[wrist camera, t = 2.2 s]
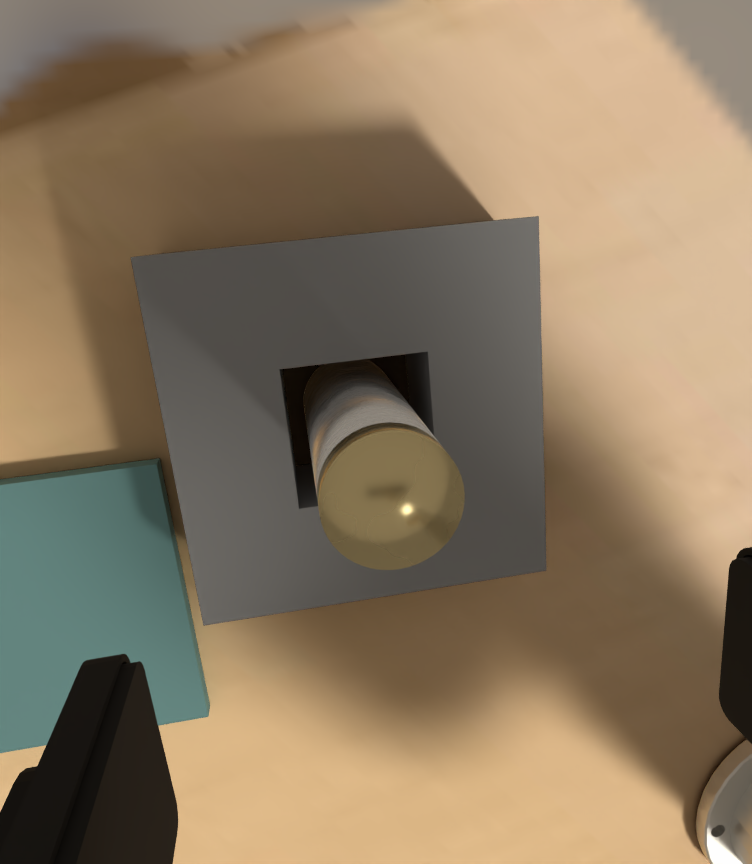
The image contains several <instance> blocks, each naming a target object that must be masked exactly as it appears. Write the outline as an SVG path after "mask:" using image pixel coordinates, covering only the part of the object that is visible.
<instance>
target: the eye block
mask: <svg viewBox="0 0 752 864" xmlns="http://www.w3.org/2000/svg"><path fill="white" fill-rule="evenodd" d="M131 262H132V267H133V272H134V277H135V282H136V287H137V292H138V297H139V302H140V308H141V313H142V318H143V323H144V328H145V333H146V338H147V343H148V348H149V353H150V358H151V363H152V368H153V373H154V378H155V383H156V388H157V393H158V398H159V403H160V408H161V413H162V418H163V423H164V429H165V434H166V439H167V444H168V449H169V454H170V459H171V464H172V469H173V474H174V479H175V484H176V489H177V494H178V499H179V504H180V509H181V514H182V519H183V524H184V529H185V534H186V539H187V545H188V550H189V555H190V560H191V565H192V570H193V575H194V580H195V585H196V590H197V595H198V600H199V605H200V610H201V615H202V620H203V625H210V624H217V623H223V622H229V621H235V620H241V619H248V618H254V617H260V616H266V615H273V614H279V613H285V612H291V611H298V610H304V609H310V608H316V607H323V606H329V605H335V604H341V603H348V602H354V601H360V600H366V599H372V598H379V597H385V596H391V595H397V594H404V593H410V592H416V591H422V590H429V589H435V588H441V587H447V586H454V585H460V584H466V583H472V582H479V581H485V580H491V579H497V578H503V577H510V576H516V575H522V574H528V573H535V572H541V571H546V528H545V482H544V437H543V391H542V346H541V301H540V255H539V216H536V217H525V218H514V219H503V220H492V221H482V222H472V223H462V224H452V225H442V226H432V227H422V228H412V229H403V230H393V231H383V232H373V233H363V234H353V235H343V236H333V237H323V238H313V239H303V240H293V241H283V242H273V243H263V244H253V245H243V246H233V247H223V248H213V249H203V250H193V251H183V252H173V253H163V254H154V255H146V256H137V257H131ZM403 354H405V358H406V370H407V382H408V394H409V405H410V406H411V407H412V409H413V410H414V411H415V412H416V414H417V415H418V416H419V418H420V419H421V420H422V421H423V423H424V424H425V425H426V426H427V428H428V429H429V430H430V432H431V433H432V434H433V435H434V437H435V438H436V439H437V440H438V442H439V443H440V444H441V446H442V447H443V448H444V449H445V451H446V452H447V453H448V454H449V456H450V457H451V458H452V460H453V461H454V463H455V464H456V466H457V467H458V470H459V472H460V474H461V477H462V481H463V484H464V492H465V502H464V509H463V513H462V517H461V520H460V522H459V525H458V527H457V529H456V531H455V532H454V534H453V536H452V537H451V538H450V540H449V541H448V542H447V543H446V544H445V545H444V546H443V547H442V548H441V549H440V550H439V551H438V552H437V553H436V554H434V555H433V556H431V557H430V558H428V559H427V560H425V561H423V562H421V563H419V564H416V565H413V566H410V567H407V568H402V569H396V570H378V569H371V568H368V567H364V566H361V565H359V564H357V563H354V562H353V561H351V560H349V559H347V558H346V557H345V556H343V555H342V554H341V553H340V552H339V551H338V550H337V549H336V548H335V547H334V546H333V545H332V543H331V542H330V541H329V539H328V538H327V536H326V534H325V532H324V529H323V527H322V524H321V520H320V515H319V508H318V501H317V494H316V487H315V481H314V474H313V467H312V464H306V465H299V466H296V463H295V456H294V449H293V441H292V434H291V427H290V420H289V413H288V406H287V398H286V391H285V384H284V377H283V370H282V369H287V368H295V367H304V366H312V365H320V364H328V363H337V362H345V361H353V360H361V359H370V358H378V357H386V356H395V355H403Z"/></svg>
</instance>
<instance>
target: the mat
mask: <svg viewBox="0 0 752 864" xmlns="http://www.w3.org/2000/svg"><path fill="white" fill-rule="evenodd" d="M119 654H126V655H127V656H128V658H129V659H130V663H133V662H139V661H140V662H142V664H143V666H144V669H145V673H146V677H147V682H148V686H149V690H150V694H151V698H152V702H153V707H154V711H155V715H156V719H157V723H158V725H163V724H169V723H175V722H181V721H186V720H192V719H198V718H203V717H208V715H209V709H210V703H209V698H208V693H207V689H206V684H205V679H204V674H203V669H202V664H201V659H200V654H199V649H198V644H197V639H196V634H195V630H194V625H193V620H192V615H191V610H190V605H189V600H188V595H187V590H186V585H185V580H184V575H183V571H182V566H181V561H180V556H179V551H178V546H177V541H176V536H175V531H174V526H173V521H172V516H171V512H170V507H169V502H168V497H167V492H166V487H165V482H164V477H163V472H162V467H161V462H160V458H158V459H150V460H143V461H135V462H128V463H120V464H113V465H105V466H98V467H90V468H83V469H75V470H68V471H60V472H52V473H45V474H37V475H30V476H22V477H15V478H7V479H0V753H3V752H9V751H15V750H21V749H26V748H32V747H38V746H43V745H47V743H48V741H49V738H50V736H51V734H52V731H53V729H54V727H55V725H56V722H57V720H58V718H59V715H60V713H61V711H62V708H63V706H64V704H65V701H66V699H67V697H68V694H69V692H70V690H71V687H72V685H73V683H74V681H75V678H76V676H77V674H78V671H79V669H80V667H81V665H82V663H83V662H84V661H86V660H90V659H96V658H102V657H107V656H113V655H119Z"/></svg>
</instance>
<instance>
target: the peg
mask: <svg viewBox="0 0 752 864" xmlns="http://www.w3.org/2000/svg"><path fill="white" fill-rule="evenodd" d="M303 402H304V411H305V418H306V425H307V432H308V439H309V446H310V453H311V460H312V467H313V474H314V481H315V487H316V494H317V501H318V508H319V515H320V520H321V524H322V527H323V529H324V532H325V534H326V536H327V538H328V539H329V541H330V542H331V543H332V545H333V546H334V547H335V548H336V549H337V550H338V551H339V552H340V553H341V554H342V555H343V556H345V557H346V558H347V559H349V560H351V561H353V562H354V563H357V564H359V565H361V566H364V567H368V568H371V569H378V570H396V569H402V568H407V567H410V566H413V565H416V564H419V563H421V562H423V561H425V560H427V559H428V558H430V557H431V556H433V555H434V554H436V553H437V552H438V551H439V550H440V549H441V548H442V547H443V546H444V545H445V544H446V543H447V542H448V541H449V540H450V538H451V537H452V536H453V534H454V532H455V531H456V529H457V527H458V525H459V522H460V520H461V517H462V513H463V509H464V502H465V492H464V484H463V481H462V477H461V474H460V472H459V470H458V467H457V466H456V464H455V463H454V461H453V460H452V458H451V457H450V456H449V454H448V453H447V452H446V451H445V449H444V448H443V447H442V446H441V444H440V443H439V442H438V440H437V439H436V438H435V437H434V435H433V434H432V433H431V432H430V430H429V429H428V428H427V426H426V425H425V424H424V423H423V421H422V420H421V419H420V418H419V416H418V415H417V414H416V412H415V411H414V410H413V409H412V407H411V406H410V405H409V404H408V402H407V401H406V400H405V398H404V397H403V396H402V395H401V393H400V392H399V391H398V390H397V388H396V387H395V386H394V384H393V383H392V382H391V381H390V379H389V378H388V377H387V376H386V374H385V373H384V372H383V371H382V369H381V368H379V367H378V366H377V365H376V364H374V363H373V362H371V361H369V360H367V359H361V360H353V361H345V362H337V363H328V364H322V365H321V366H320V367H319V368H317V369H316V370H315V372H314V373H313V374H312V375H311V377H310V378H309V380H308V382H307V385H306V387H305V391H304V399H303Z"/></svg>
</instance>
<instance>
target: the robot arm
mask: <svg viewBox="0 0 752 864" xmlns="http://www.w3.org/2000/svg"><path fill="white" fill-rule="evenodd" d="M719 700H720V704H721V707H722V710H723V712H724V713H725V715H726V717H727V718H728V719H729V721H730V722H731V723H732V724H733V725H734V726H735V727H736V728H737V729H738V730H739V731H740V732H741V733H742V735H743V736H744V737H745V738H746V740H745V741H744V742H742V743H741V744H739V745H738V746H737V747H736V748H735V749H734V750H733V751H732V752H731V753H730V754H729V755H728V756H727V757H726V758H725V759H724V760H723V761H722V763H721V764H720V765H719V767H718V768H717V769H716V770H715V772H714V773H713V774H712V776H711V778H710V780H709V782H708V783H707V785H706V787H705V789H704V791H703V794H702V797H701V800H700V803H699V806H698V810H697V819H696V831H697V839H698V842H699V844H700V847H701V849H702V852H703V854H704V855H705V857H706V858H707V859H708V861H709V862H710V864H752V547H750V548H744V549H742V550H741V551H740V552H739V553H738V555H737V558H736V559H735V560H733V561H732V562H731V564H730V567H729V576H728V589H727V601H726V614H725V626H724V638H723V651H722V663H721V676H720V688H719ZM177 829H178V811H177V803H176V798H175V794H174V790H173V786H172V782H171V777H170V773H169V769H168V765H167V761H166V757H165V752H164V748H163V744H162V740H161V736H160V732H159V727H158V723H157V719H156V715H155V711H154V707H153V702H152V698H151V694H150V690H149V686H148V682H147V677H146V673H145V669H144V666H143V664H142V662H140V661H139V662H133V663H130V659H129V658H128V656H127V655H126V654H119V655H113V656H107V657H102V658H96V659H90V660H86V661H84V662H83V663H82V665H81V667H80V669H79V671H78V674H77V676H76V678H75V681H74V683H73V685H72V687H71V690H70V692H69V694H68V697H67V699H66V701H65V704H64V706H63V708H62V711H61V713H60V715H59V718H58V720H57V722H56V725H55V727H54V729H53V731H52V734H51V736H50V738H49V741H48V743H47V745H46V748H45V750H44V752H43V755H42V757H41V759H40V762H39V764H38V766H37V767H31V768H26V769H25V770H24V771H22V772H21V773H20V774H19V776H18V777H17V779H16V780H15V782H14V784H13V786H12V788H11V790H10V792H9V795H8V797H7V799H6V801H5V803H4V805H3V808H2V810H1V812H0V864H172V863H173V857H174V850H175V843H176V837H177Z"/></svg>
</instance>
